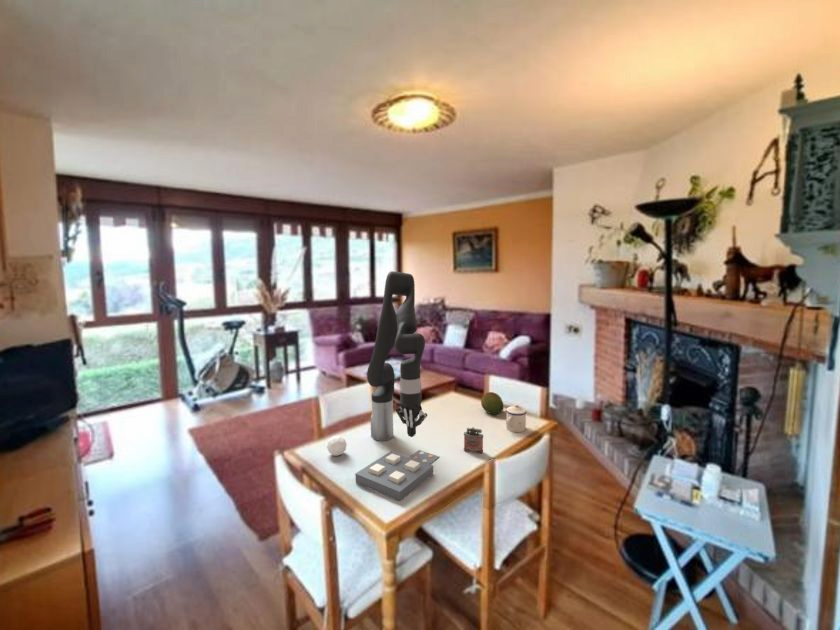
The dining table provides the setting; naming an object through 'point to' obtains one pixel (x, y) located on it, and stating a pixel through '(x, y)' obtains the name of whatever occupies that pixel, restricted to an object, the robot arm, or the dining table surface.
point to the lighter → (473, 441)
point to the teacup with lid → (516, 418)
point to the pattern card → (424, 457)
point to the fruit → (492, 403)
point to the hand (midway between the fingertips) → (411, 435)
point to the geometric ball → (336, 445)
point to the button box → (382, 481)
